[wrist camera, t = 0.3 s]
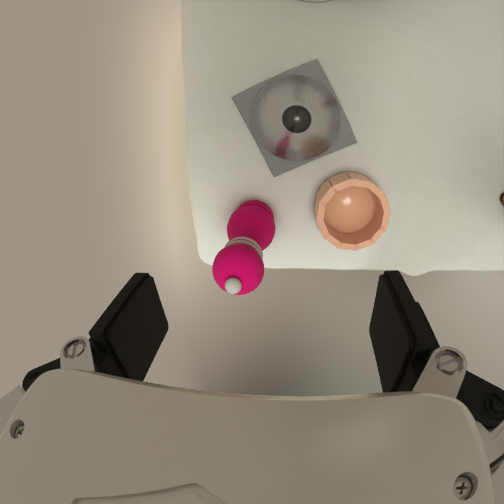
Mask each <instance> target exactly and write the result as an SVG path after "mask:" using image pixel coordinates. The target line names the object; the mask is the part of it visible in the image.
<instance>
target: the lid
mask: <svg viewBox="0 0 504 504" xmlns="http://www.w3.org/2000/svg"><path fill="white" fill-rule="evenodd" d="M250 121H251V126H252V130H253V132H254V135H255V137H256V138H257V140H258V141H259V143H260V144H261V145H262V146H263V147H264V148H265V149H266V150H267V151H269V152H270V153H271V154H273V155H275V156H277V157H279V158H282V159H286V160H291V161H304V160H309V159H312V158H315V157H317V156H319V155H321V154H322V153H324V152H325V151H326V150H327V149H329V148H330V146H331V145H332V144H333V143H334V141H335V140H336V137H337V135H338V133H339V130H340V124H341V116H340V110H339V106H338V104H337V101H336V99H335V98H334V96H333V95H332V93H331V92H330V91H329V90H328V89H327V88H326V87H325V86H324V85H323V84H321V83H320V82H318V81H316V80H314V79H312V78H309V77H306V76H300V75H287V76H282V77H279V78H276V79H274V80H272V81H270V82H269V83H267V84H266V85H265V86H264V87H263V88H262V89H261V90H260V91H259V92H258V93H257V95H256V97H255V98H254V101H253V103H252V107H251V113H250Z"/></svg>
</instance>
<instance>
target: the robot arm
mask: <svg viewBox="0 0 504 504" xmlns="http://www.w3.org/2000/svg"><path fill="white" fill-rule="evenodd" d="M303 1H308V2H322V1H328V0H303ZM369 330H370V331H369V332H370V337H371V341H372V345H373V349H374V353H375V357H376V362H377V366H378V371H379V376H380V380H381V385H382V390H383V393H372V394H358V395H336V396H264V395H245V394H232V393H220V392H211V391H202V390H194V389H186V388H179V387H172V386H166V385H160V384H154V383H149V382H143V380H144V378H145V376H146V374H147V372H148V370H149V368H150V366H151V363H152V361H153V359H154V357H155V355H156V353H157V351H158V349H159V347H160V345H161V343H162V341H163V339H164V337H165V335H166V333H167V331H168V322H167V319H166V316H165V313H164V310H163V307H162V304H161V301H160V298H159V295H158V292H157V288H156V285H155V282H154V279H153V277H151V276H150V275H149V274H148V273H135V274H134V275H133V276H132V277H131V279H130V280H129V281H128V282H127V284H126V285H125V286H124V287H123V289H122V290H121V291H120V292H119V294H118V295H117V296H116V297H115V299H114V300H113V301H112V302H111V304H110V305H109V306H108V308H107V309H106V310H105V311H104V313H103V314H102V315H101V317H100V318H99V319H98V321H97V322H96V323H95V325H94V326H93V327H92V329H91V330H90V331H89V335H90V339H89V340H88V339H87V338H85V337H74V338H72V339H70V340H68V341H67V342H66V343H65V344H64V345H63V346H62V348H61V351H60V358H58V359H56V360H54V361H52V362H49V363H47V364H45V365H42V366H40V367H38V368H35V369H33V370H31V371H29V372H28V373H27V375H26V376H25V378H24V380H23V385H22V386H23V387H21V386H20V385H19V386H17V387H16V388H15V389H14V390H12V391H11V392H9V393H8V394H7V395H5V396H4V397H3V398H1V399H0V504H504V391H503V390H502V389H500V388H499V387H497V386H495V385H493V384H491V383H489V382H487V381H485V380H483V379H482V378H480V377H478V376H476V375H474V374H472V373H470V372H468V371H466V370H467V361H466V358H465V356H464V355H463V354H462V353H461V352H460V351H459V350H457V349H455V348H453V347H447V346H444V347H440V346H439V344H438V341H437V339H436V337H435V335H434V333H433V331H432V329H431V327H430V324H429V322H428V320H427V318H426V316H425V314H424V312H423V310H422V308H421V306H420V304H419V303H418V302H415V300H414V298H413V296H412V295H411V293H410V291H409V289H408V287H407V285H406V283H405V281H404V279H403V277H402V275H401V274H400V272H399V271H398V270H397V271H385V272H384V274H383V275H380V276H379V281H378V287H377V293H376V298H375V303H374V308H373V313H372V317H371V323H370V327H369Z"/></svg>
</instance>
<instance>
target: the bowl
mask: <svg viewBox="0 0 504 504" xmlns="http://www.w3.org/2000/svg"><path fill="white" fill-rule="evenodd" d="M315 216H316V221H317V224H318V226H319V228H320V230H321V233H322V235H323V237H324V239H326V240H327V241H329V242H330V243H331V244H333V245H334V246H336V247H337V248H339V249H347V250H356V249H357V250H359V249H362V248H364V247H367V246H370V245H372V244H373V243H375V242H376V241H377V240H378V239H379V238H380V236H381V235H382V234H383V233H384V232H385V231H386V230H385V229H387V225H388V221H389V216H390V208H389V205H388V202H387V199H386V195H385V194H384V193H383V192H382V190H381V189H380V188H379V187H378V186H376V185H375V184H374V183H373V182H372V181H371V180H370V179H368V178H367V177H366V176H365V175H362V174H359V173H356V172H342V173H338V174H335V175H333V176H331V177H330V178H328V179H327V180H326V181H325V182H324V183H323V184H322V185H321V187H320V188H319V190H318V192H317V195H316V199H315Z"/></svg>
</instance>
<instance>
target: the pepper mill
mask: <svg viewBox="0 0 504 504" xmlns="http://www.w3.org/2000/svg"><path fill="white" fill-rule="evenodd" d="M227 233H228V238H229V240H230V241H229V242H228V243H227V244H226V245H225V248H223V249H222V250H221V251H220V252H219V253H218V254H217V256H216V257H215V259H214V262H213V276H214V279H215V281H216V283H217V284H218V285H219V286H220V288H222V289H223V290H224V291H226V292H228V293H231V294H234V295H242V294H247V293H249V292H251V291H253V290H254V289H256V288H257V287H258V286H259V284H260V283H261V281H262V278H263V275H264V264H263V260H262V258H263V253H262V251H263V250H264V249H266V248H267V247H268V246H269V245H270V243H271V242H272V240H273V238H274V234H275V223H274V218H273V213H272V211H271V209H270V208H269V207H268V206H267V205H266V204H264V203H263V202H260V201H248V202H245V203H244V204H242V205H241V206H240V207H239V208H238V209H237V210H236V211H235V212H234V213H233V214H232V215H231V217H230V219H229V222H228V225H227Z"/></svg>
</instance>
